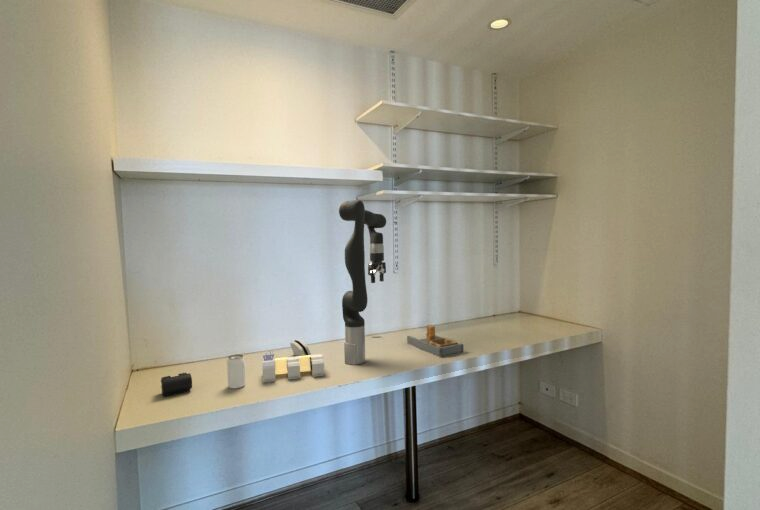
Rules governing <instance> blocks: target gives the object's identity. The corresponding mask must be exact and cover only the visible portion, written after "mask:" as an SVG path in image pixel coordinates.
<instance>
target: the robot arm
mask: <svg viewBox="0 0 760 510" xmlns="http://www.w3.org/2000/svg"><path fill="white" fill-rule="evenodd" d="M338 214H339V217H340V218H341V220H343V221H347V222H354V229H353V232H352V234H351V236H350V238H349V239H348V241H347V243H346V245H345V248H344V264H345V268H346V271H347V272H348V274H349V275H348V276H350V279H351V285H352V290H348V291H346V292H344V294H343V296H342V298H341V299H342V300H341V305H342V307H341V308H342V309H341V310H342V318H343V319H342V320H343V321H344V337H345V338H344V339H345V341H344V351H343V352H344V364H348V365H353V366H356V365H361V364H363V363H364V364H365V363H366V333H365V332H366V328H365V327H366V326H365V323H366V322H365V319H364V318H363V316H361V315H360V313H361V312H362V313H363V311H365V310H366V308H367V306H368V293H367V290H368V289H367V283H366V267H365V264H366V262H365V261H366V259H365V257H366V255H365V226H367V229H368V234H369V261H370V262H371V263H368V264H367V265H368V267H367V274H368V276H370V283H371V284H375V283H376V274H377V273H379V282H384V279H385V277H384V276H385V274H386V273H387V267H386V266H387V265H386V263H387V262H384V261H385V249H384V234H383V233H381V232H379V231H378V232H377V231H376V229H383V228H385V227H386V224H387V218H386V217H385V216H384V215H383V214H381V213H374V212H372V211H370V210H366V207H365V203H364V201H362V200H358V199H357V200H346V201H342V202H341V203H340V204H339V206H338Z"/></svg>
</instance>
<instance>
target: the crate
mask: <svg viewBox="0 0 760 510" xmlns="http://www.w3.org/2000/svg"><path fill="white" fill-rule="evenodd" d="M435 335H436V326H435V325H427V326H426V338H427V343H429V344H431V345H434V346H436V347H439V348H440V347H445V346H451V345H456V344H458V341H454V340H451V339H448V338H446V337H442V338H441V339H435Z"/></svg>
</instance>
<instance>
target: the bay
mask: <svg viewBox="0 0 760 510" xmlns="http://www.w3.org/2000/svg"><path fill="white" fill-rule="evenodd" d="M441 338H443V336H442V337H441V336H438V335H436V334H435V339H441ZM406 340H407V341H406V342H407V344H408V345H411V346H413V347H415V348H418V349H420V350H422V351H425V352H427V353H429V354H430V355H431V354H432V355H433V356H436V357H438V358H445V357H449V356H455V355H460V354H464V343H458V342H457V343H458V344H456V345H451V346H445V347H440V348H439V347H436V346H434V345H431V344H429V343H427V337H426V338H420V339H419V338H416V337H413V336H410V335H406Z"/></svg>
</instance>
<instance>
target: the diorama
mask: <svg viewBox="0 0 760 510" xmlns="http://www.w3.org/2000/svg"><path fill="white" fill-rule="evenodd" d="M273 353H274V352H273V350H272V349H271V350H268V352H266V353H265V355H262V358H263V359H262V365H261V366H262V368H261V369H262V383H270V382H276V375H283V374H287V380H295V379H301V373H302V372H311V373H312V374H311V377H312V378H314V377H315V378H316V377H322V376H323V377H324V376H325V361H324V356H323V353H318V354H317V353H316V354H311V355H306V356H296V355H295V356H287V357H278V358H274V356H275V354H273Z"/></svg>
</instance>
